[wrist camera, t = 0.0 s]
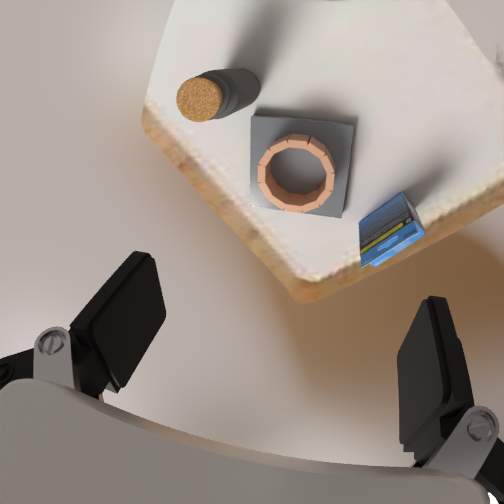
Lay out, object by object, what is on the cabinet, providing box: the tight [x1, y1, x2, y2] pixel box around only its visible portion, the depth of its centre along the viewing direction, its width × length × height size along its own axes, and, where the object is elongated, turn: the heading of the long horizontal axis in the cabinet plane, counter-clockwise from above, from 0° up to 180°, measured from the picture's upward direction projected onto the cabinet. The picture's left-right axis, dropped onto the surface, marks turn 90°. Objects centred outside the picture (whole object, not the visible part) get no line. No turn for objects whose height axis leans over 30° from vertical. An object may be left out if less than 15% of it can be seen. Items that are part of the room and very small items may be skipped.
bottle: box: [177, 69, 260, 122], centre depth 34 cm, size 6×6×15 cm
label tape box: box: [359, 192, 426, 268], centre depth 40 cm, size 9×4×12 cm, turn 137°
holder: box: [250, 115, 354, 218], centre depth 42 cm, size 14×14×6 cm
